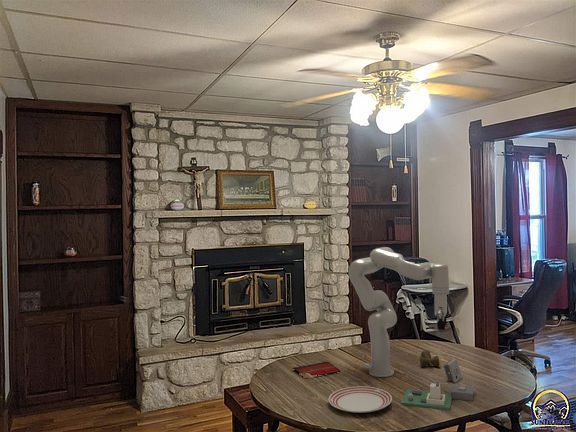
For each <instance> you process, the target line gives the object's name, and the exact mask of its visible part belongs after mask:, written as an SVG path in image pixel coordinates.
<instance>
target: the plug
mask: <svg viewBox="0 0 576 432" xmlns="http://www.w3.org/2000/svg"><path fill="white" fill-rule="evenodd" d="M429 391H430V398H431V399H437V400H441V383H440V382H438V381H437V382H436V383H430V384H429Z"/></svg>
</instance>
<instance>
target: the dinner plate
mask: <svg viewBox="0 0 576 432" xmlns="http://www.w3.org/2000/svg"><path fill="white" fill-rule="evenodd" d="M392 401H393V397H392V395H391V394H390V392H388V391H386V390H384V389H381V388H378V387H372V386H362V385H361V386H360V385H359V386H349V387H344V388H340V389H337V390H336V391H333V392H332V393H331V394H330V395H329V396H328V403H329V404H330V405H331V406H332V407H333V408H335V409H338V410H340V411H343V412H349V413H355V414H363V413H364V414H366V413H372V412H377V411H380V410H383V409H385V408H386V407H388V406H389V405H390V404H391V403H392Z"/></svg>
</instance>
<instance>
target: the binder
mask: <svg viewBox="0 0 576 432" xmlns="http://www.w3.org/2000/svg"><path fill="white" fill-rule="evenodd" d="M292 369H295V370H296V373H302V374H303V373H304V374H305V373H310V374H311V375H317V376H318V375H324V376H326V375H325V374H329V375H333V374H332V373H336V374H338V373H337V372H340V373H341V369H339V368H337V367H336V366H335V365H334V364H332V363H331V362H329V361H323V362H318V363H311V364H306V365H302V366H296V367H293V368H292Z"/></svg>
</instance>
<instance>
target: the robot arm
mask: <svg viewBox="0 0 576 432" xmlns="http://www.w3.org/2000/svg"><path fill="white" fill-rule="evenodd" d="M383 268H387V269H389V270H393V271H395V272H396V273H398V275H400V276H401V277H402V276H403V277H405V278H407V279H411V280H414V281H423V280H426V279H427V280H428V279H431V292H432V295H434V296H433V297H434V299H433V300H434V301H433V302H434V305H433V306H434V316H435V317H437V321H436V322H437V326H436V327H437V330H438V331H446V326H447V321H448V320H447V312H448V297H447V295H450V278H449V266H448V265H447V264H446V263H433V262H430V261H428V262H427V261H425V262H421V263H413V262H410V261H407V260H405V258H404V256H403V254H401V253H397V252H395V251H394V250H393V249H392V248H390V247H389V246H388V247H387V246H382V247H376V248H374V249H373V250H372V251H371V252H370V254H369V257H363V258H359V259H355V260H353V261H352V262H351V264H350V265H349V268H348V277H349V280H350V283H351V285H352V286H353V288H354V289H355V292H356V294H357V296H358V298H359V300H360V303H361V306H363V308H364V310H366V311H368V312H371V311H375V310H376V311H375V312H373V313H371V314H370V315H369V317H368V319H367V325H368V329H369V337H370V350H371V351H370V353H371V354H370V356H371V357H370V358H371V360H370V361H371V363H369V364H367V363H364V364H363V368H364V369H365V370H366V369H367V370H369V371H368V374H369V375H370V376H372V377H374V378H375V377H376V378H389V377H392V376H393V375H394V374H395V372H394V371H395V370H394V369H392V366H391V347H390V346H391V345H390V336H389V333H388V330H387V329H389V328H392V327H394V326H395V325H396V324H397V321H398V317H397V313H396V311H395V308H394V307H393V304H392V302H391V301H390V299H389V296H388V295H387V294H386V293H385V292H384V291H383V290H380V289H377V290H376V289H375V290H374V289H373V287H372V283H371V282H370V281H369V279H368V278H366V276H365V275H370V274H374V273H375V272H378V271H379V270H381V269H383Z"/></svg>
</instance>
